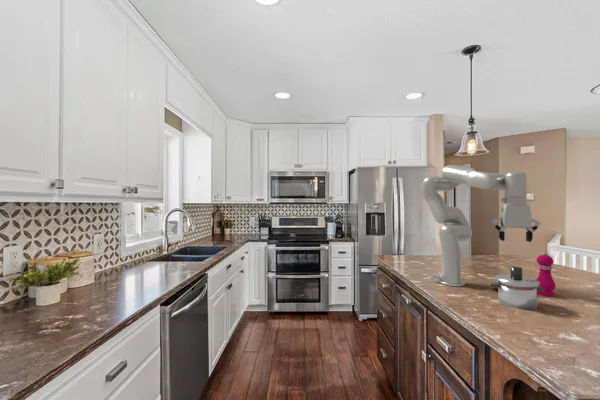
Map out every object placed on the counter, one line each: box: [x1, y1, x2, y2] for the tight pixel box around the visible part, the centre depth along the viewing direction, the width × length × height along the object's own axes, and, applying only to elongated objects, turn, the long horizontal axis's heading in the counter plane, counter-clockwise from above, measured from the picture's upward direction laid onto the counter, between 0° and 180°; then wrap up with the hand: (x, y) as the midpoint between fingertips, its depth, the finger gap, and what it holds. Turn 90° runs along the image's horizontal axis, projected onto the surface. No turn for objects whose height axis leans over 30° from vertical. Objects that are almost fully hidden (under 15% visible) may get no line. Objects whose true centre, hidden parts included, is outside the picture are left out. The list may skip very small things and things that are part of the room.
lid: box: [494, 265, 539, 288], centre depth 120 cm, size 15×15×6 cm
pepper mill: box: [535, 251, 556, 298], centre depth 131 cm, size 7×7×20 cm
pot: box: [490, 282, 545, 310], centre depth 120 cm, size 19×14×9 cm
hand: (515, 240), depth 120 cm, fingers open, 9 cm apart
